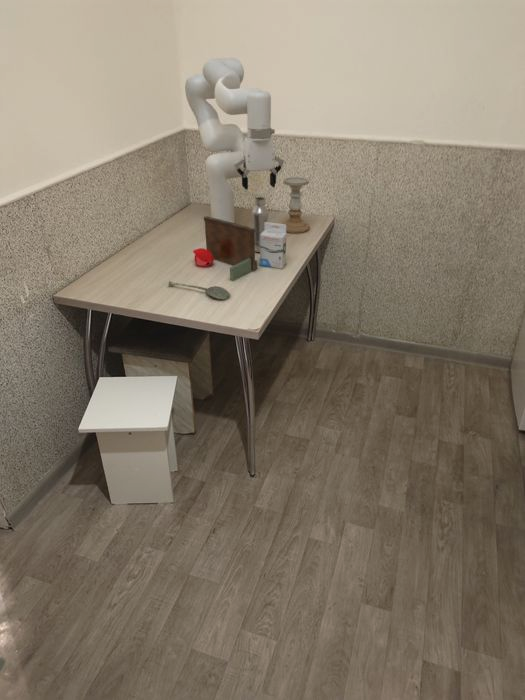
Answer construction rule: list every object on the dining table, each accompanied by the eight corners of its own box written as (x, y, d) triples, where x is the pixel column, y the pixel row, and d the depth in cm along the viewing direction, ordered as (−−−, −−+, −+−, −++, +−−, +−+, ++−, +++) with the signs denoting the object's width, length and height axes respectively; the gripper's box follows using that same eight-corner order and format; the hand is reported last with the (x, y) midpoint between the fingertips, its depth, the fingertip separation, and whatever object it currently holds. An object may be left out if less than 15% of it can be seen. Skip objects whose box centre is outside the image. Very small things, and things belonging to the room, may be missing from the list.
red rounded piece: (217, 262, 185) (216, 247, 182) (210, 269, 181) (209, 253, 177) (196, 260, 188) (195, 244, 184) (190, 266, 183) (188, 250, 180)
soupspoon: (222, 304, 159) (232, 297, 164) (223, 294, 157) (233, 287, 162) (164, 289, 167) (175, 282, 172) (163, 279, 165) (175, 273, 170)
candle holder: (314, 227, 218) (316, 178, 208) (300, 235, 210) (302, 185, 199) (289, 222, 224) (290, 175, 213) (274, 230, 215) (275, 181, 204)
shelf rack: (186, 265, 184) (183, 224, 176) (211, 254, 192) (209, 214, 184) (235, 281, 172) (233, 238, 164) (258, 269, 181) (258, 227, 173)
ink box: (259, 266, 183) (259, 225, 175) (263, 260, 187) (263, 221, 179) (282, 269, 181) (282, 228, 173) (286, 263, 185) (287, 224, 177)
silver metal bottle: (271, 249, 197) (271, 197, 186) (264, 255, 192) (264, 202, 181) (256, 246, 199) (255, 195, 188) (248, 252, 194) (247, 199, 183)
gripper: (280, 130, 170) (279, 182, 180) (230, 133, 166) (231, 186, 175) (288, 134, 164) (286, 188, 174) (236, 137, 160) (237, 192, 169)
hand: (259, 187), depth 174 cm, fingers open, 9 cm apart
